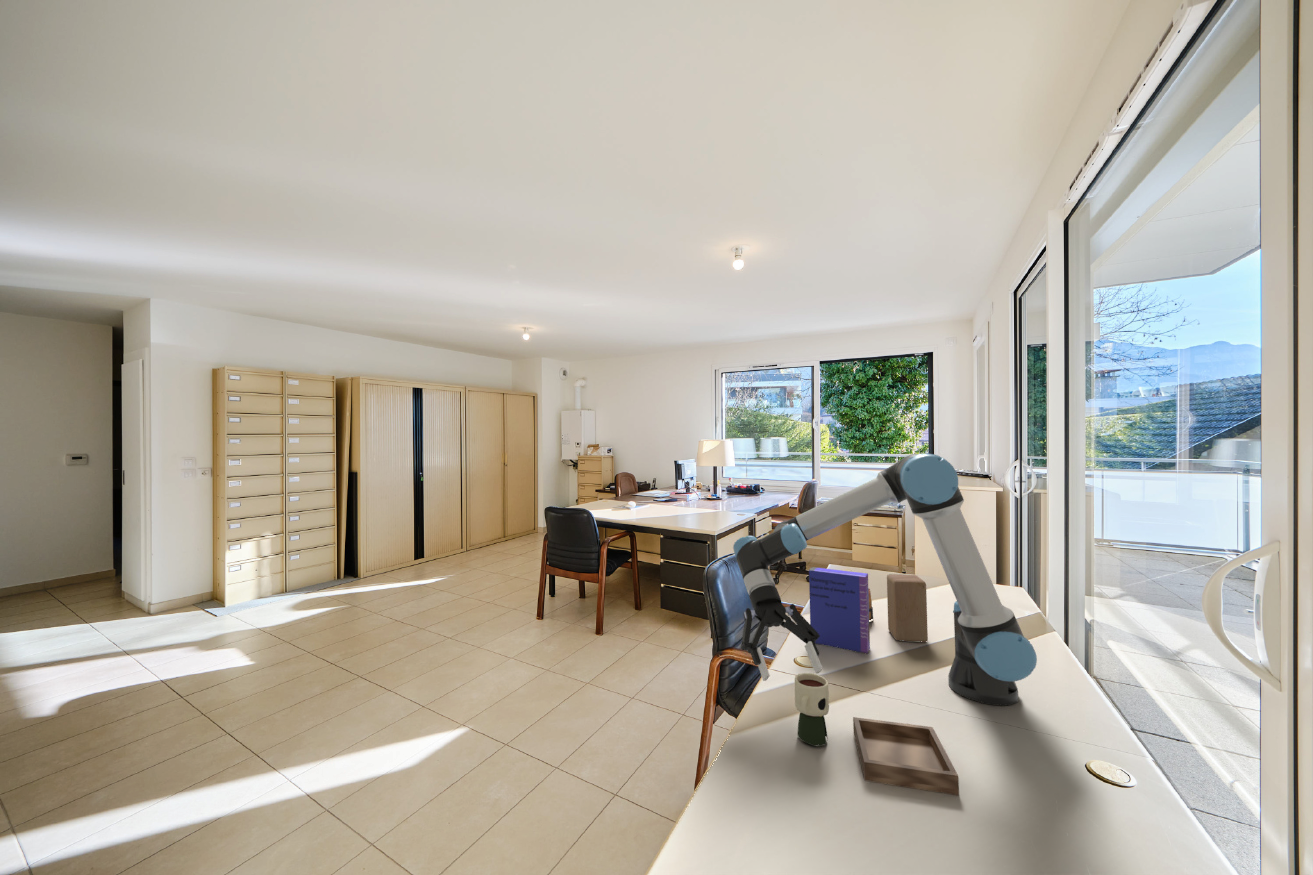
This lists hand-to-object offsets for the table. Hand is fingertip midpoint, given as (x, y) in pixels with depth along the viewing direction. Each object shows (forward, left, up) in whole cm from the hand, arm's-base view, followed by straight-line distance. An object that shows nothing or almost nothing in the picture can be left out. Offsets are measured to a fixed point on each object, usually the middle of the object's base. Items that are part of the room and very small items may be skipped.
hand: (793, 674), depth 110 cm
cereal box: (-15, -50, -12) cm, 54 cm away
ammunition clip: (-26, -73, -12) cm, 78 cm away
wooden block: (-38, -63, -12) cm, 75 cm away
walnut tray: (-21, +8, -11) cm, 25 cm away
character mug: (-4, +5, -12) cm, 13 cm away
